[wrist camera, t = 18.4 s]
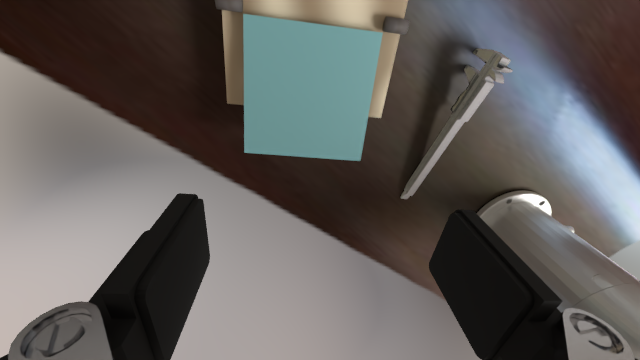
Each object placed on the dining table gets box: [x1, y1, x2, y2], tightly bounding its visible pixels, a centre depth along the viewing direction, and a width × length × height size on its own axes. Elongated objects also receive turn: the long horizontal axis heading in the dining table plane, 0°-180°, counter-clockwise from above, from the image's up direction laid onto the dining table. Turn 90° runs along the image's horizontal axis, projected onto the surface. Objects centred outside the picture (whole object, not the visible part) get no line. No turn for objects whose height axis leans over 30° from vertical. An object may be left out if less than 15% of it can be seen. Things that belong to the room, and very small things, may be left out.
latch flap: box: [243, 14, 383, 161], centre depth 25 cm, size 12×12×1 cm
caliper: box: [400, 49, 513, 199], centre depth 31 cm, size 20×1×6 cm, turn 164°
